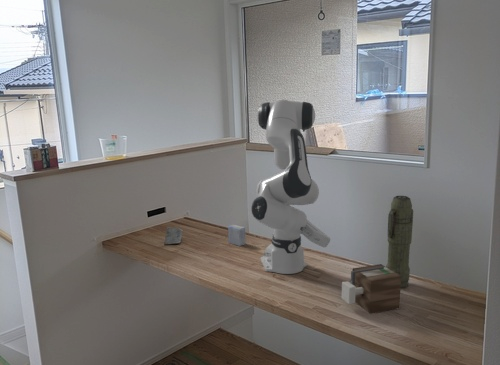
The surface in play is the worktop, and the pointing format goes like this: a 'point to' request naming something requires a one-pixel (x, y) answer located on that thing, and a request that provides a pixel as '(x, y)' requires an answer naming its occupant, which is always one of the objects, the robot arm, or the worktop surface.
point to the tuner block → (378, 289)
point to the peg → (353, 287)
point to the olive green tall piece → (400, 237)
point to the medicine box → (236, 235)
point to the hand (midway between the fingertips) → (321, 233)
